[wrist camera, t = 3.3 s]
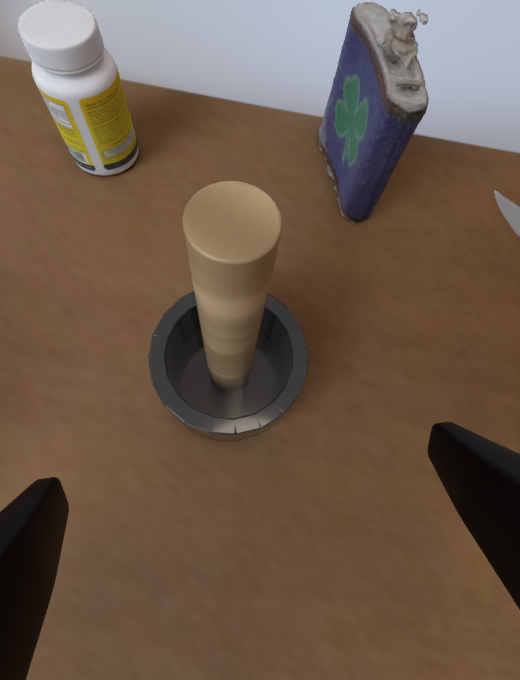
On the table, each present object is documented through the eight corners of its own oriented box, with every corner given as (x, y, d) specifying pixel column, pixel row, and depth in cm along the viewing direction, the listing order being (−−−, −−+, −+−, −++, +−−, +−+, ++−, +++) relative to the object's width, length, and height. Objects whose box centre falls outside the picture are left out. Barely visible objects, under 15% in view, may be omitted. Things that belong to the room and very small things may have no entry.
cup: (266, 463, 21) (275, 461, 17) (138, 409, 21) (119, 395, 17) (311, 340, 24) (327, 316, 20) (197, 295, 24) (191, 262, 20)
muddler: (240, 397, 21) (261, 277, 8) (202, 381, 22) (164, 239, 8) (255, 361, 22) (296, 200, 9) (219, 346, 22) (207, 166, 9)
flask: (313, 131, 30) (357, -43, 20) (347, 129, 30) (408, -42, 20) (342, 226, 27) (413, 79, 17) (380, 222, 27) (470, 76, 17)
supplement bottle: (142, 131, 28) (109, -2, 20) (136, 179, 27) (98, 56, 19) (77, 127, 28) (18, -10, 20) (68, 176, 26) (-1, 49, 18)
